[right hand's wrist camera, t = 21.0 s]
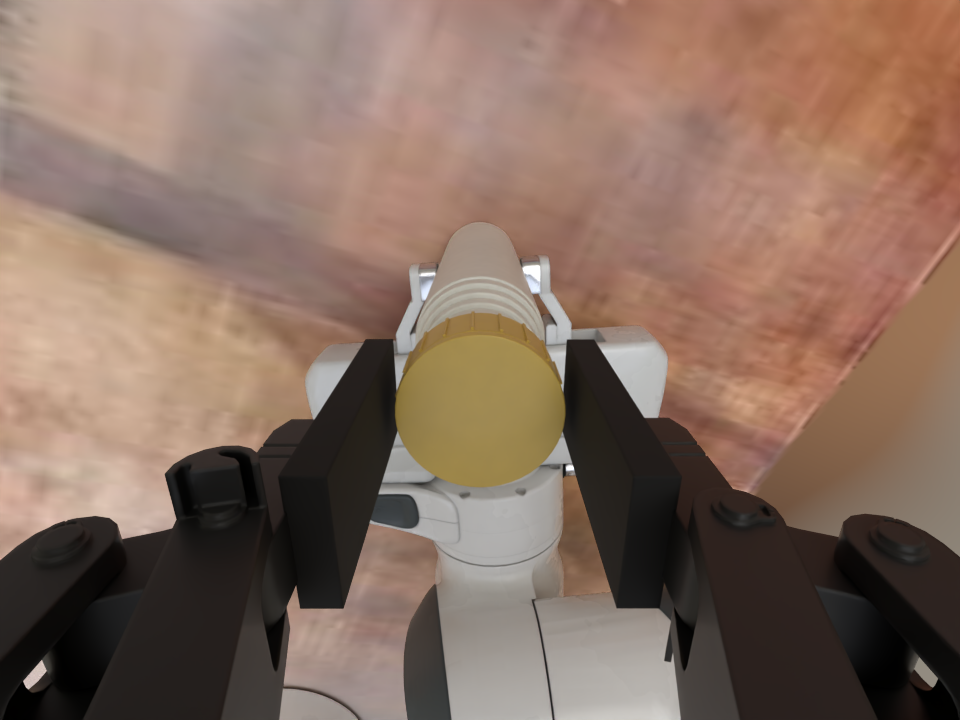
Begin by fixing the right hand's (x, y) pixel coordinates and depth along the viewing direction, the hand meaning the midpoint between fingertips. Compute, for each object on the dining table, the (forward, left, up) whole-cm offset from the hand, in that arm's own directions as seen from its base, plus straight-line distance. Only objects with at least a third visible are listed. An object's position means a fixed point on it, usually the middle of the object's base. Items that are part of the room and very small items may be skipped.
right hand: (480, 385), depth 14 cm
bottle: (0, 0, -20) cm, 20 cm away
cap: (0, 0, +2) cm, 2 cm away
